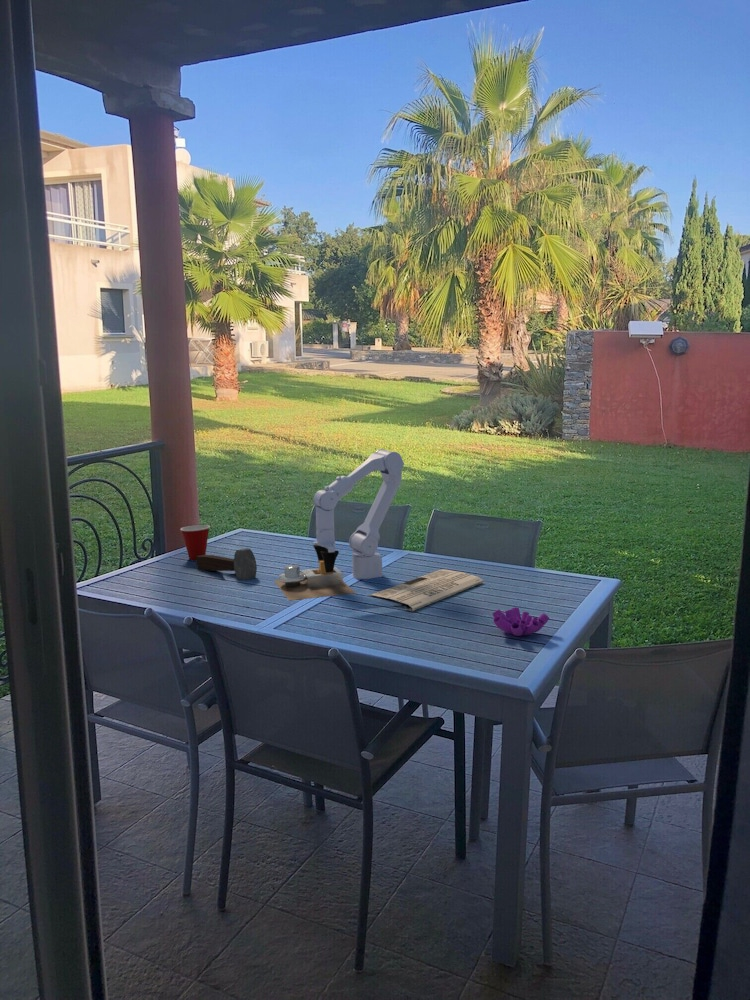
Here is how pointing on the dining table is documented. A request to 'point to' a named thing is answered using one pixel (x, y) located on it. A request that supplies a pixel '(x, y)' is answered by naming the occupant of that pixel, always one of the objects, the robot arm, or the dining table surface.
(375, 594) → the newspaper
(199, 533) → the plastic cup
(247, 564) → the hammer
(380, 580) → the dining table surface
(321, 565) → the tan rectangular prism
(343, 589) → the board
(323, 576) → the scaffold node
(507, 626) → the purple coral
